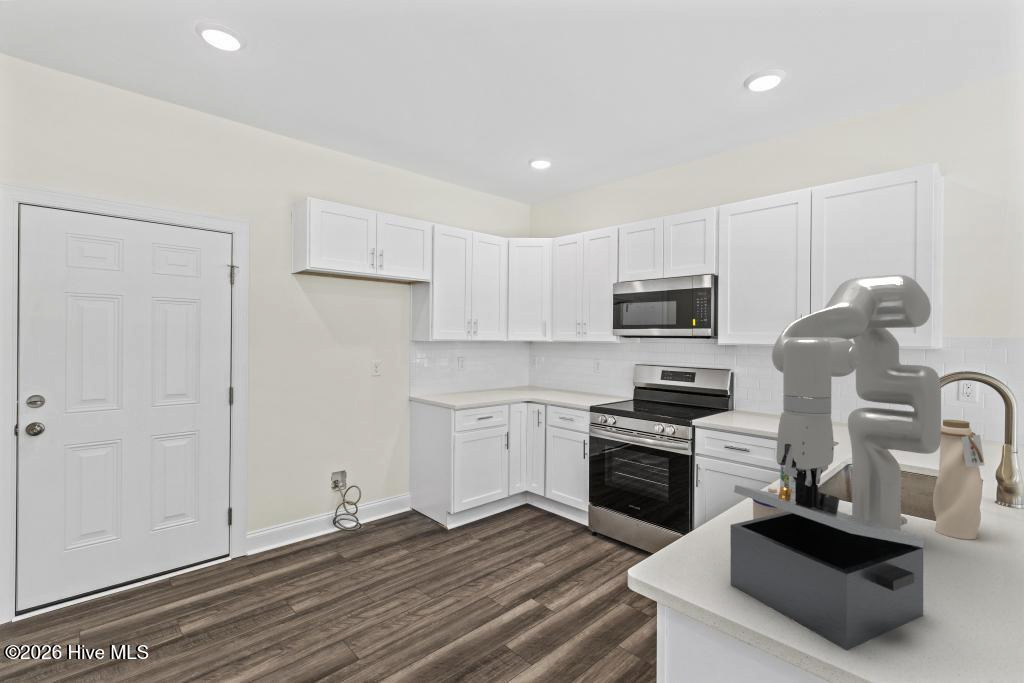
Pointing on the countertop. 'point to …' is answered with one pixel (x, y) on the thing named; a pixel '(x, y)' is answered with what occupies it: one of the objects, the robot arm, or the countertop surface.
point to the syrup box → (787, 481)
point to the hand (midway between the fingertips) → (806, 504)
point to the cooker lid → (830, 515)
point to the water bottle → (958, 481)
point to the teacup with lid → (765, 507)
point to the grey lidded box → (828, 576)
